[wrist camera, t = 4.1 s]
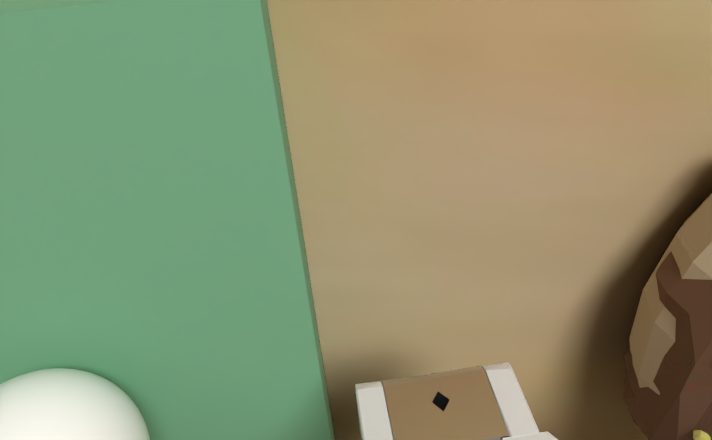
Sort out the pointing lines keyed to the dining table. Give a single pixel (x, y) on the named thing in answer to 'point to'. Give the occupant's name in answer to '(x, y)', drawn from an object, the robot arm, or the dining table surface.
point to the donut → (675, 339)
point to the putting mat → (157, 215)
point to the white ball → (67, 408)
